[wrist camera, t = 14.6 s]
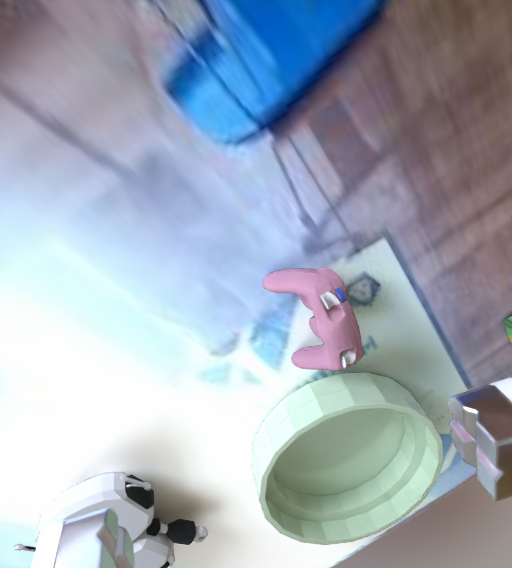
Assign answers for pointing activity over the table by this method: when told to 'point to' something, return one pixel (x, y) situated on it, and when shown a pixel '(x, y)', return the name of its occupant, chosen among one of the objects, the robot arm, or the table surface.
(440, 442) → the bowl
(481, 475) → the robot arm
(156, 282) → the table surface
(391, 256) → the table surface
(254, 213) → the table surface
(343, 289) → the video game controller
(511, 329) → the chalk box
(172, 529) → the robot toy
